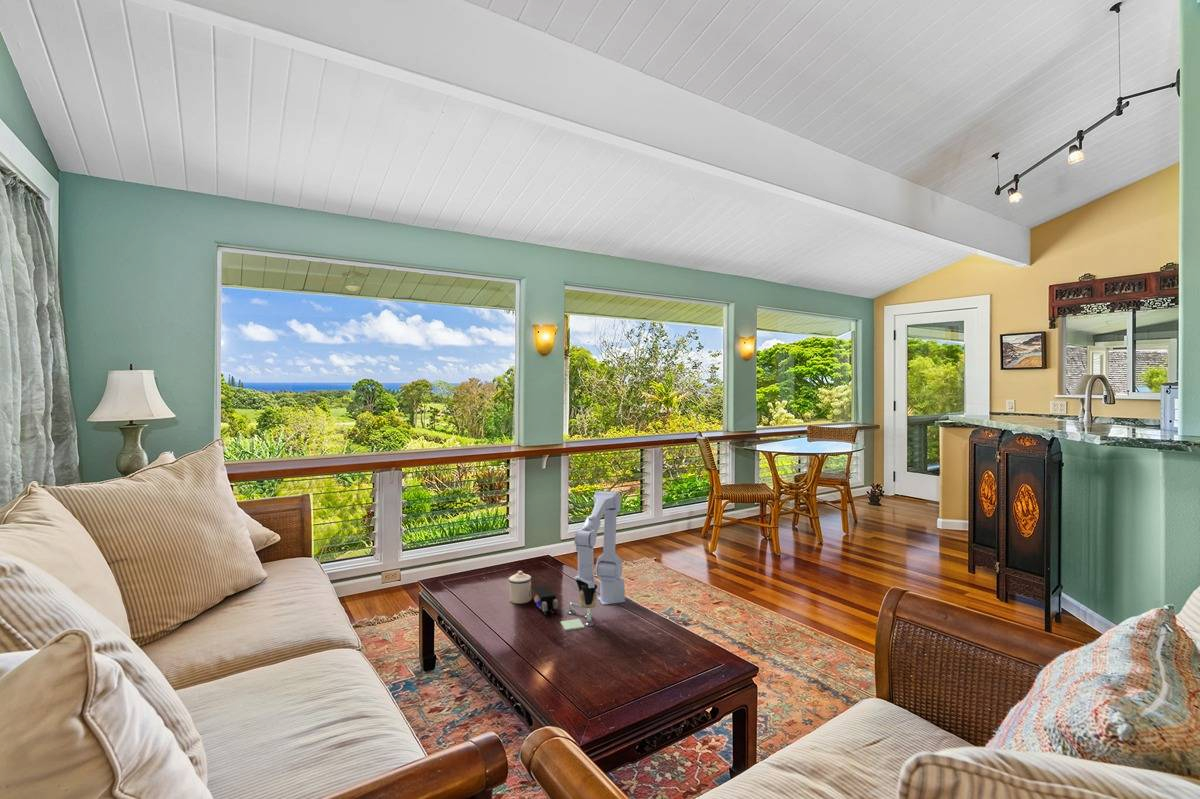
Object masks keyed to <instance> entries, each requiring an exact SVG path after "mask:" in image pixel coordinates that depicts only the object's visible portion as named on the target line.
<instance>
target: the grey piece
mask: <svg viewBox="0 0 1200 799" xmlns="http://www.w3.org/2000/svg"><path fill="white" fill-rule="evenodd" d="M574 607H575V608H579V609H583V610H586V611H585V612H586V613H585V614H584V615H583V618H584V619H586V621H585V622H584V626H586V627H592V626H594V625H595V622H594V621H592V618H593V614H592V613H591V608H582V607H581V606H580V603H574V602H569V610H567V612H566V613H567V614H568V615H571V616H573V615H575V614H576V610H574Z"/></svg>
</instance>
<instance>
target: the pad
mask: <svg viewBox="0 0 1200 799" xmlns="http://www.w3.org/2000/svg"><path fill="white" fill-rule="evenodd" d="M560 624H561V626H562V628H563V630H564V631H565V632H567V631H575V630H580V629H581V630H582V629H585V624H584V623H583V622H582V621H581V619H580V618H574V619H569V620H568V619H567V620H561V621H560Z"/></svg>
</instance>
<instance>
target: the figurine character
mask: <svg viewBox="0 0 1200 799" xmlns="http://www.w3.org/2000/svg"><path fill="white" fill-rule="evenodd" d="M531 590H533V592H535V595H534V597H533V600H534V604H536V607H538V608H539V609H540V611H542V612H543V614H544V615H545V616H546V615H548V614H547V612H550V613H551V614H554V613H555V611H554V610H557V609H559V601H558V599H556V597H557V595H556V594H555V593H554V592H553V591H552V589H551V588H550V587H549V585H547V584H543V585H542V584H541V585H536V586H535V585H534V586H531ZM553 609H554V610H553Z"/></svg>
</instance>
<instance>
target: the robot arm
mask: <svg viewBox="0 0 1200 799" xmlns="http://www.w3.org/2000/svg"><path fill="white" fill-rule="evenodd" d="M593 504H594V506H593V509H592V511H591V514H590V515H588V516H587V517H586V519H585V521H584V523H583V525H582V527H581V529H579V530H577V531H576V533H575V534H574V535H575V536H574V546H575V550H576V552H577V575H576V576H574V579H575V582H576V585H577V587H578V591H579V593H580V591H581V590H583V593H584V599H585V604H586V605H591V604H592V601H593V596H594V593H595V591H596V592H597V588H598V585H597V584H596V583H595V575H596V577H598V579H599V581H600V582H599V584H600V588H599V589H600V590H599V591H600V596H599V595H598V596H596V599H597V600H598V601H599V602H600V603H601V604H602V605H611V604H612V605H613V604H619V603H620V604H621V603H626V595H625V594H626V593H625V592H626V590H625V580H624V578H623V577H622V575H623V570H624V569H623V561H622V560H623V559H622V558H621V557H620V556H619V555H618V554H617V552H616V542H617V538H616V537H617V515H618V513H619V512H621V508H622V496H621V494H620V492H619V491H605V490H604V491H603V490H596V491H595V493H594V495H593ZM603 514H604V524H603V526H604V527H603V548H602V551H603V552H602V554H600V555H599V556H598V557H597V558H596V564H595V565H594V563H595V562H594V560H595V558H594V547H595V545H596V541H597V534H598V531H599V529H600V527H601V524H602V522H601V519H602V517H603ZM594 566H595V568H594ZM594 569H595V570H594ZM594 571H595V572H594Z"/></svg>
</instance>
